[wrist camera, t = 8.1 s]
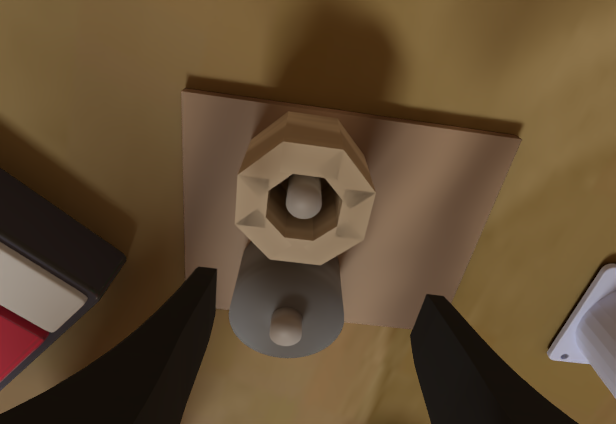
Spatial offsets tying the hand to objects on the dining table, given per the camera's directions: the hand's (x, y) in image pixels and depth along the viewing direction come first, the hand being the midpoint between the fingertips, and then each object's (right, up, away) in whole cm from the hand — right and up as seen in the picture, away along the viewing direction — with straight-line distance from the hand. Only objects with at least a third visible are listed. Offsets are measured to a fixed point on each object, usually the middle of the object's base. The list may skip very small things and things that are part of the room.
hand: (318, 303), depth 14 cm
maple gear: (-1, +5, +6) cm, 8 cm away
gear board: (+1, +2, +8) cm, 9 cm away
